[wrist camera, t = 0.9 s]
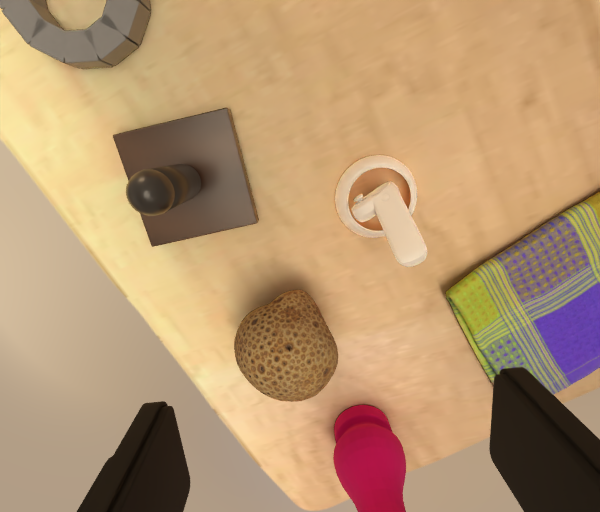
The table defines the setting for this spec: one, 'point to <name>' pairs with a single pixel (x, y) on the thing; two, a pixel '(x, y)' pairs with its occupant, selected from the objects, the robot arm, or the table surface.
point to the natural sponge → (286, 348)
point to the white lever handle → (383, 209)
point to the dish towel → (538, 301)
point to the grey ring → (81, 32)
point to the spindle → (187, 177)
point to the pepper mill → (369, 460)
